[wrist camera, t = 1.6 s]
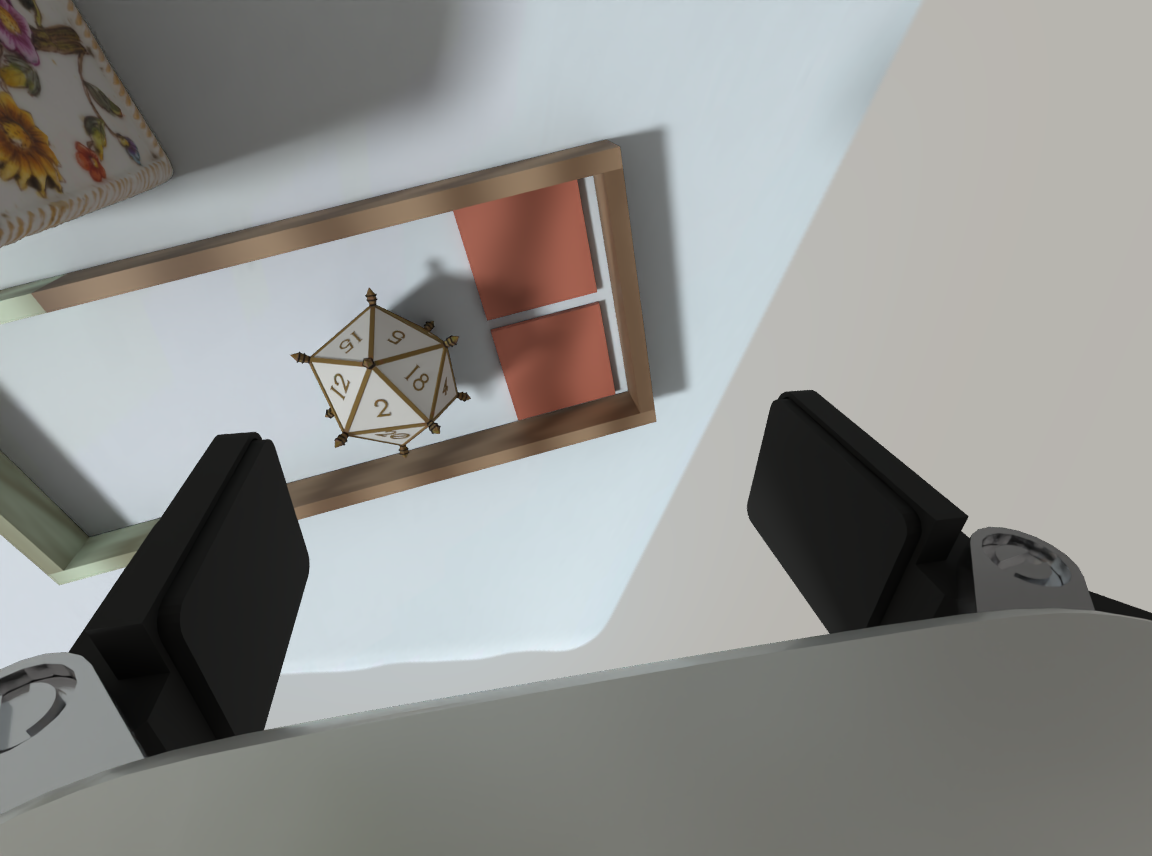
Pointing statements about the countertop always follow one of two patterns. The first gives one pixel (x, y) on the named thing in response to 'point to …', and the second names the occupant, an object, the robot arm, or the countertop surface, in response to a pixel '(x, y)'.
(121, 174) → the decorative jar
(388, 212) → the rectangular wooden frame
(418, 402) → the game die
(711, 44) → the countertop surface
